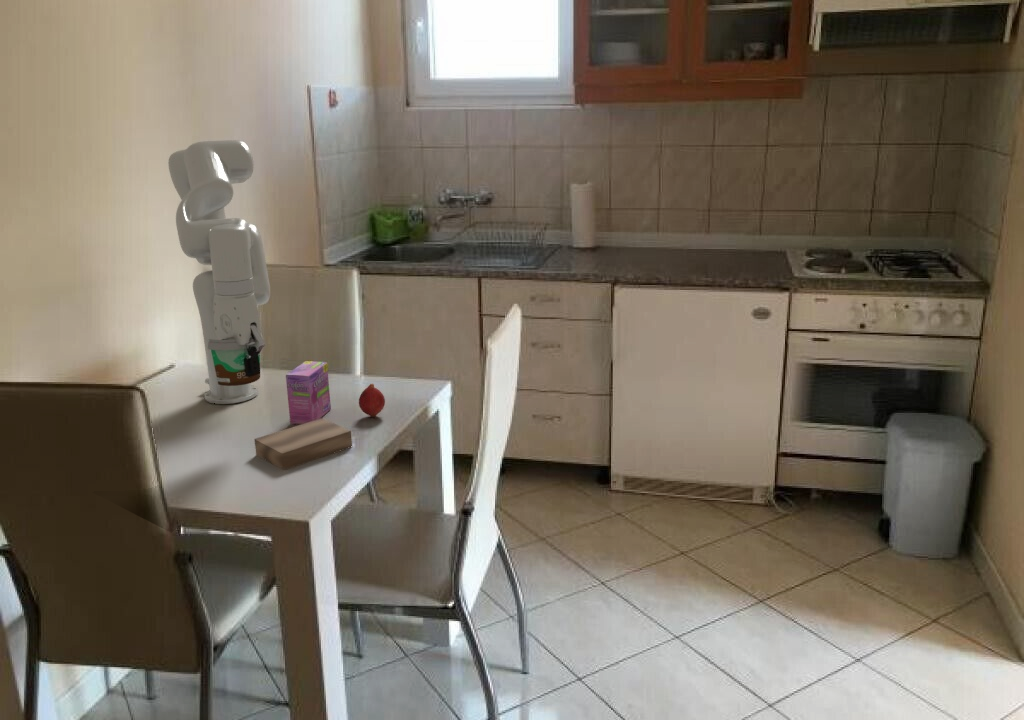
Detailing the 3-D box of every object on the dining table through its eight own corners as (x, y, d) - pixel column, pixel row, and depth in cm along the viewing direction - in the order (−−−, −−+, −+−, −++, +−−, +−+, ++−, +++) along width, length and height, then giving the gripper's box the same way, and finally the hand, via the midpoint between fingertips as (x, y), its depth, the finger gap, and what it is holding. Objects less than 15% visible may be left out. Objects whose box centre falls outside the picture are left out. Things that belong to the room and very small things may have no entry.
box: (313, 425, 189) (308, 375, 186) (289, 424, 191) (284, 374, 187) (332, 409, 199) (327, 361, 196) (309, 408, 200) (304, 360, 197)
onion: (363, 423, 190) (360, 389, 188) (357, 414, 195) (354, 382, 193) (388, 418, 192) (386, 385, 190) (382, 411, 197) (379, 378, 195)
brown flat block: (256, 457, 174) (254, 439, 173) (323, 435, 185) (321, 418, 184) (284, 472, 166) (282, 453, 165) (352, 448, 177) (350, 430, 176)
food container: (232, 392, 169) (227, 344, 166) (212, 386, 172) (206, 339, 169) (279, 375, 179) (275, 329, 176) (259, 370, 182) (254, 325, 179)
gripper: (193, 284, 172) (204, 369, 178) (243, 296, 162) (254, 385, 168) (225, 278, 178) (235, 360, 183) (276, 289, 168) (285, 375, 173)
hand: (244, 371), depth 175 cm, fingers closed on food container, 5 cm apart
